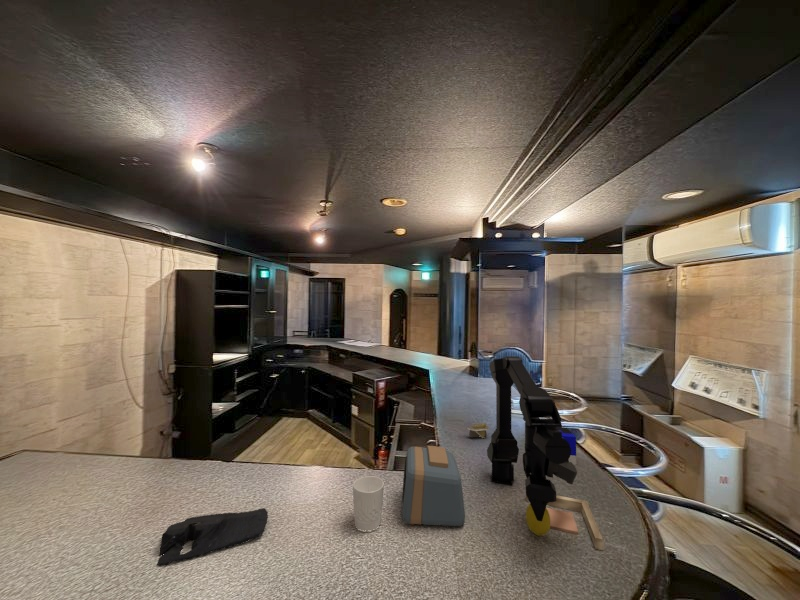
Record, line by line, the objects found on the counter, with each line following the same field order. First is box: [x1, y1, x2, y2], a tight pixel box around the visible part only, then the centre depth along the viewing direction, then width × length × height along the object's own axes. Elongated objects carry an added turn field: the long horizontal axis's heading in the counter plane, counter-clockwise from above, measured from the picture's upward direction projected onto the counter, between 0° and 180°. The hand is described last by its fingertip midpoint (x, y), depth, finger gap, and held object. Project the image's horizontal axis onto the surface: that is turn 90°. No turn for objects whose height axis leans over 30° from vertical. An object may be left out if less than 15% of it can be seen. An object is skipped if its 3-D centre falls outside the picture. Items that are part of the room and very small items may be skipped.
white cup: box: [352, 475, 385, 531], centre depth 79 cm, size 8×8×10 cm
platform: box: [466, 422, 490, 439], centre depth 137 cm, size 12×18×7 cm, turn 102°
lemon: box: [525, 503, 551, 537], centre depth 76 cm, size 6×6×8 cm
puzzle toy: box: [556, 426, 577, 466], centre depth 120 cm, size 10×10×10 cm
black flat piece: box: [156, 507, 268, 567], centre depth 75 cm, size 15×22×5 cm
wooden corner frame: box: [525, 494, 604, 551], centre depth 82 cm, size 16×16×2 cm
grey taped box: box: [401, 445, 466, 527], centre depth 86 cm, size 16×16×16 cm
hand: (537, 509), depth 76 cm, fingers open, 9 cm apart
